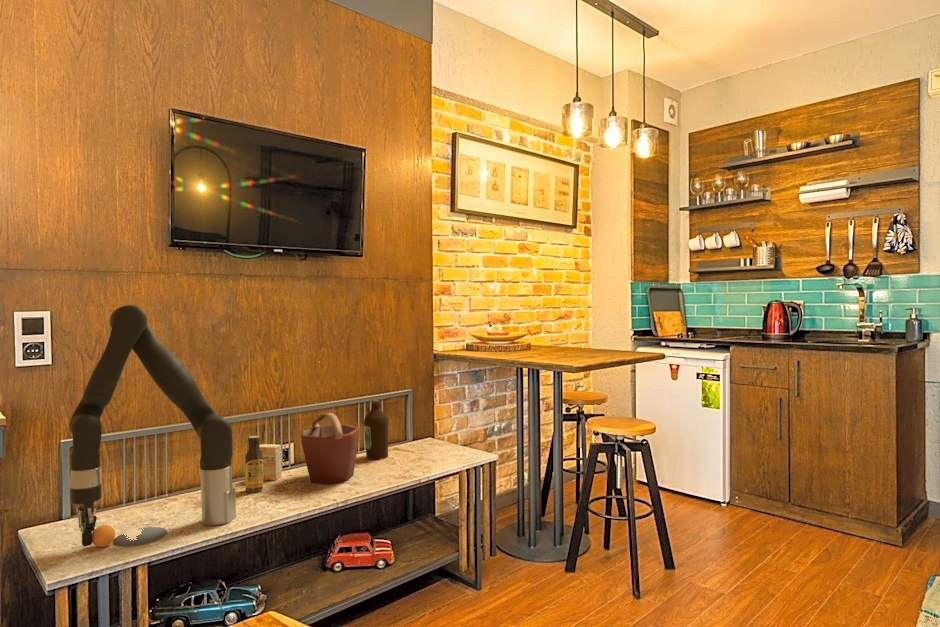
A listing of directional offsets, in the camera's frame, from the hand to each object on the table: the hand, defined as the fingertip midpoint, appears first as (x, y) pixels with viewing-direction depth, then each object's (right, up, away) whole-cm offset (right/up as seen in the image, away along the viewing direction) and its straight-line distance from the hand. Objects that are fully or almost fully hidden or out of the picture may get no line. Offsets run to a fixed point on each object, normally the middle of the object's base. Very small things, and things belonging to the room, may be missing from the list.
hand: (86, 545), depth 170 cm
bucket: (+55, +1, +64) cm, 84 cm away
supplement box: (+30, 0, +66) cm, 72 cm away
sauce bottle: (+29, 0, +51) cm, 59 cm away
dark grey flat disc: (+10, -1, +9) cm, 14 cm away
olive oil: (+68, +2, +94) cm, 115 cm away
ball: (+3, +1, +3) cm, 4 cm away
